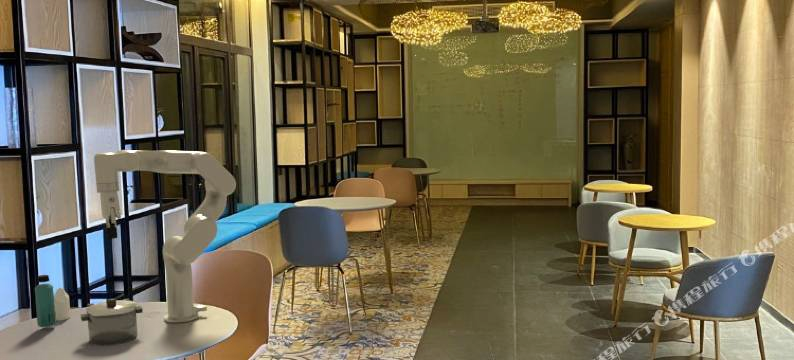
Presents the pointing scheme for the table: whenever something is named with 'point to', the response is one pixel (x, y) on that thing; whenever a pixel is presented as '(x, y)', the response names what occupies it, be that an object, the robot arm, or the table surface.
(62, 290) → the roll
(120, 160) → the robot arm
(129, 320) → the cooker pot
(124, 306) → the cooker lid
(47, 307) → the beverage bottle
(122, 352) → the table surface
